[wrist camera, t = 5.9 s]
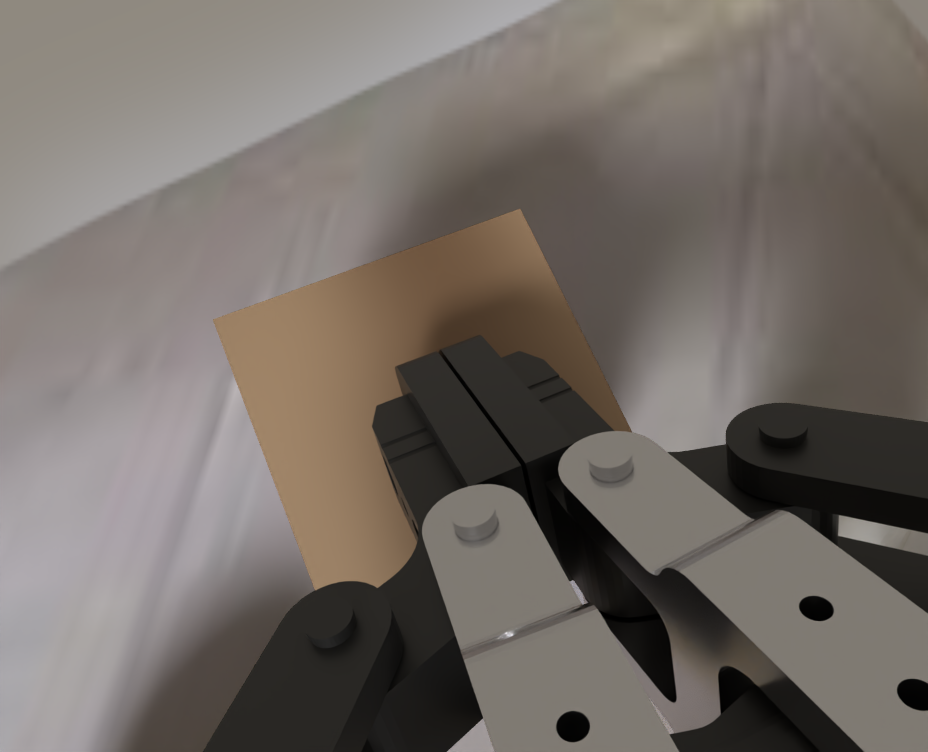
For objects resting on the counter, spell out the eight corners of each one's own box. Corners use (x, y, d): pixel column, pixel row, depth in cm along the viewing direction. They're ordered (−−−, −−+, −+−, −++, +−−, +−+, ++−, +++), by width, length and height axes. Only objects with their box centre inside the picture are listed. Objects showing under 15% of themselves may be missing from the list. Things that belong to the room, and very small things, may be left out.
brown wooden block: (362, 631, 21) (337, 650, 12) (283, 430, 22) (212, 319, 14) (559, 540, 22) (666, 500, 13) (473, 355, 23) (520, 208, 15)
